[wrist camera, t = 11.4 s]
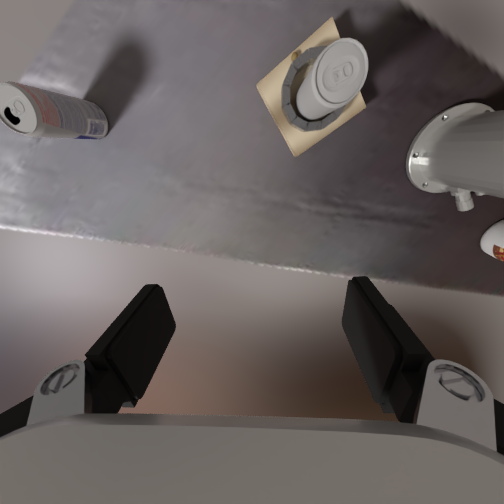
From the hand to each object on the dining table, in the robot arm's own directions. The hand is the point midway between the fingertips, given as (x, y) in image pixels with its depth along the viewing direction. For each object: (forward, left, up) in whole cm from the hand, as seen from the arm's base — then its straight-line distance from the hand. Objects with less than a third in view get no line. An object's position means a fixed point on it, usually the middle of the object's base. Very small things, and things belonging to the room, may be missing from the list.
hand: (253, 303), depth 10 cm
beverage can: (+6, -13, -28) cm, 31 cm away
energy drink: (+25, +17, -31) cm, 43 cm away
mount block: (+7, -13, -30) cm, 34 cm away
